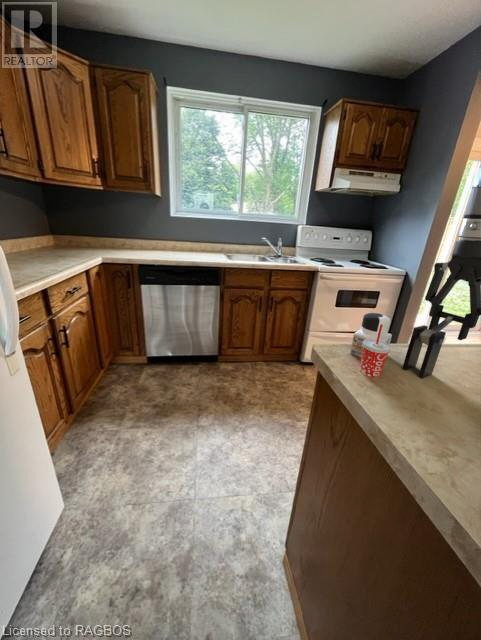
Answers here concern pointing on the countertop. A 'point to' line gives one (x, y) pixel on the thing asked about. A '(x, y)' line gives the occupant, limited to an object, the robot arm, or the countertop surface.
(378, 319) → the container
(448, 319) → the lever
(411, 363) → the bracket
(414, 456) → the countertop surface
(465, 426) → the countertop surface
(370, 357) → the beverage cup
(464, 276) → the robot arm
